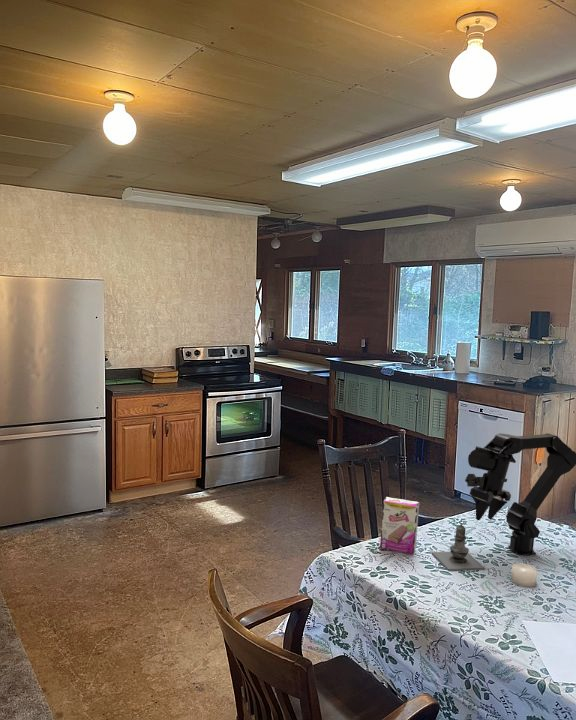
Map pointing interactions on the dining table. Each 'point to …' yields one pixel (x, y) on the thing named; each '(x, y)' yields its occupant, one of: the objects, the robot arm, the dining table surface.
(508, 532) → the dining table surface
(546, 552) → the dining table surface
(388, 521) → the candy bar box
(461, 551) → the grey chess piece
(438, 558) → the mat
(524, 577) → the cream rounded squat cylinder
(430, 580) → the dining table surface
